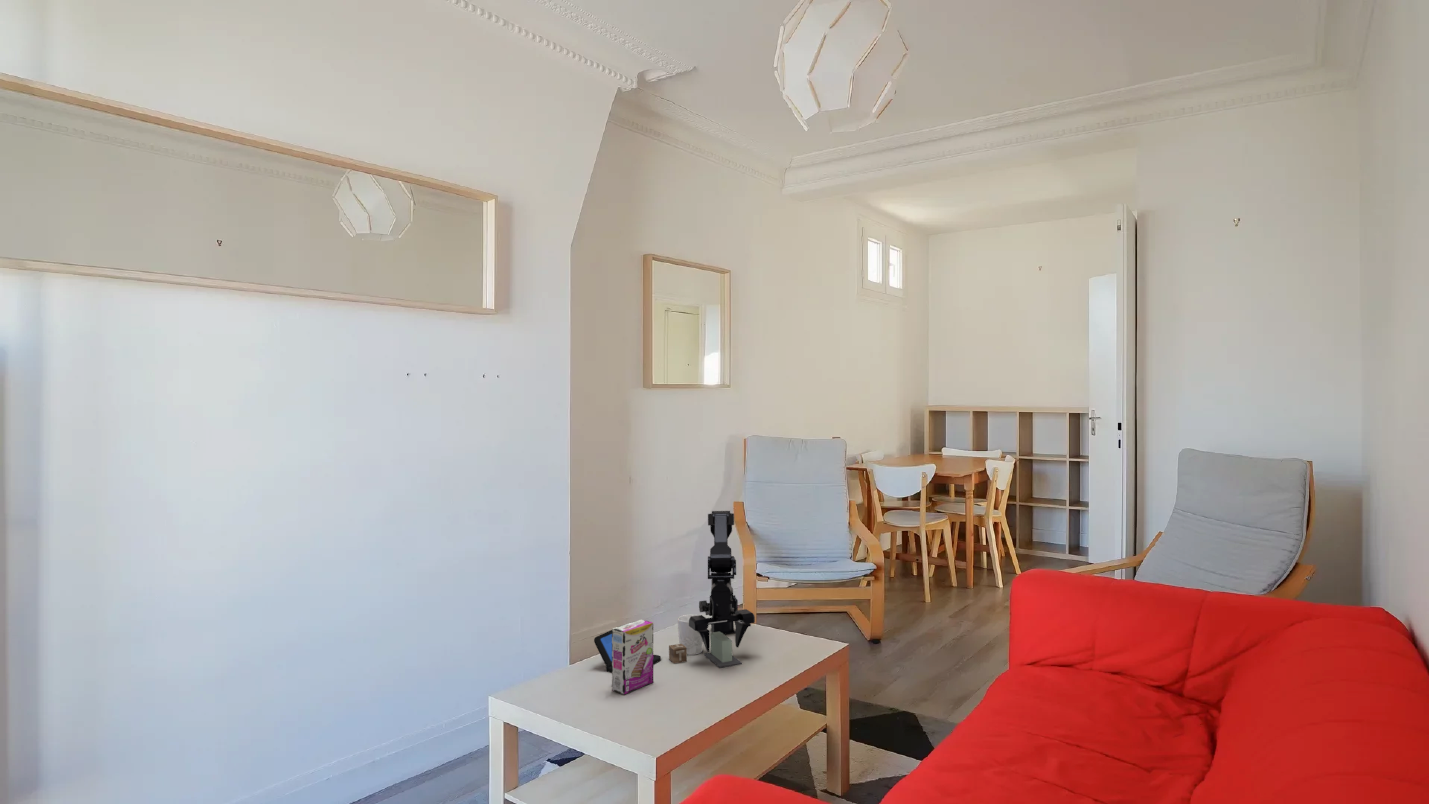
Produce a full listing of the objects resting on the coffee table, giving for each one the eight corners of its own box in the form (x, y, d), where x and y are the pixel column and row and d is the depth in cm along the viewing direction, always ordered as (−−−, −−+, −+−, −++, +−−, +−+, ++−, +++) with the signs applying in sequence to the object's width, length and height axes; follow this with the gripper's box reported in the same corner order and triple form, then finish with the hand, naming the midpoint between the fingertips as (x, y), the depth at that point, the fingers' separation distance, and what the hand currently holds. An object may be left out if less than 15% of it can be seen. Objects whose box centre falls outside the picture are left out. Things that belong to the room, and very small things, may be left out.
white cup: (674, 649, 231) (673, 616, 231) (698, 645, 234) (697, 613, 234) (684, 657, 224) (683, 623, 224) (708, 653, 227) (708, 619, 227)
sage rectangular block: (732, 660, 218) (731, 640, 218) (722, 662, 217) (722, 641, 217) (720, 651, 227) (719, 631, 227) (710, 653, 225) (710, 632, 225)
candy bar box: (624, 695, 195) (623, 631, 195) (611, 691, 198) (610, 628, 198) (655, 682, 204) (654, 621, 204) (641, 678, 207) (640, 618, 207)
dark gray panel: (725, 651, 228) (725, 650, 228) (742, 664, 217) (742, 662, 217) (703, 655, 225) (703, 653, 225) (719, 668, 214) (719, 666, 214)
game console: (632, 677, 208) (632, 644, 208) (592, 670, 215) (592, 638, 215) (663, 660, 222) (662, 629, 222) (624, 653, 229) (624, 623, 229)
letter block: (682, 657, 224) (681, 642, 224) (687, 661, 220) (686, 647, 220) (669, 659, 222) (668, 644, 222) (673, 663, 218) (673, 649, 218)
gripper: (739, 586, 232) (740, 637, 232) (681, 592, 225) (682, 645, 225) (755, 594, 222) (756, 648, 222) (695, 601, 215) (696, 657, 215)
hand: (722, 649), depth 221 cm, fingers open, 9 cm apart
